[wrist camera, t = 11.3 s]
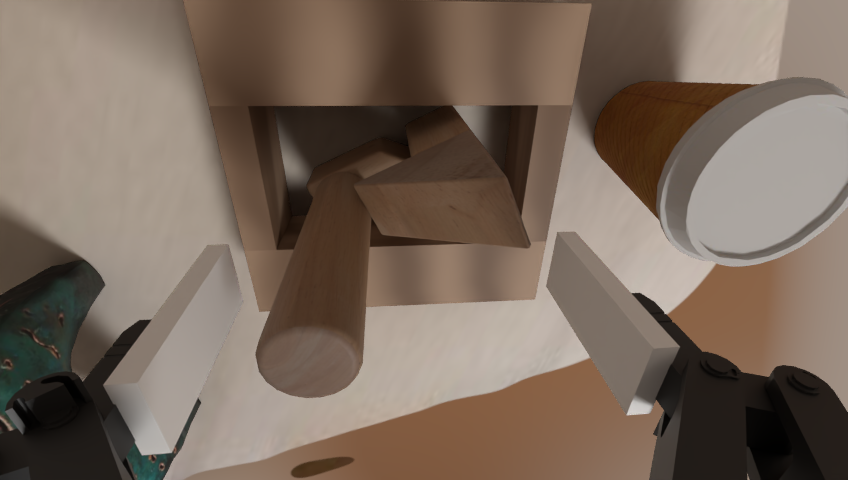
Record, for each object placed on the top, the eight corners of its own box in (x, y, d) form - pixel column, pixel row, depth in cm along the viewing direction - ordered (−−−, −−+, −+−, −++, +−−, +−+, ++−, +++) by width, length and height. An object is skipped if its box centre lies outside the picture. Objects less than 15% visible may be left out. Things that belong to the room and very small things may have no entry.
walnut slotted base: (276, 271, 32) (259, 311, 28) (220, -2, 23) (181, -5, 19) (515, 262, 34) (534, 299, 30) (555, 5, 25) (591, 3, 20)
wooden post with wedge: (469, 148, 29) (572, 308, 13) (338, 208, 30) (289, 417, 14) (450, 100, 27) (543, 218, 11) (312, 166, 28) (224, 353, 13)
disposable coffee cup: (692, 172, 31) (846, 251, 21) (573, 199, 31) (666, 291, 21) (711, 39, 26) (924, 56, 16) (570, 73, 27) (689, 111, 16)
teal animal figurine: (220, 410, 40) (94, 715, 22) (158, 423, 40) (-14, 736, 23) (100, 245, 30) (-292, 565, 13) (18, 263, 30) (-481, 604, 13)
